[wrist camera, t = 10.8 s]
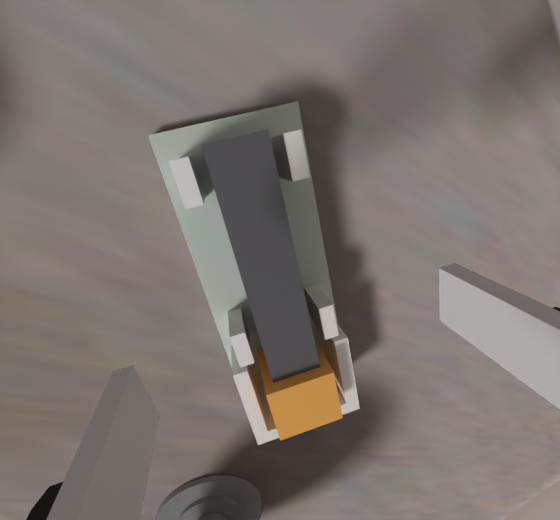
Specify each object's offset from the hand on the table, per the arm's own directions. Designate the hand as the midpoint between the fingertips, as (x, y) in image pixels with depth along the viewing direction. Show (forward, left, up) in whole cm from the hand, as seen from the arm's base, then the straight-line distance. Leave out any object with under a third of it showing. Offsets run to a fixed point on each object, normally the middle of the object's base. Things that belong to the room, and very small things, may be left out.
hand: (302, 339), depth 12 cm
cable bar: (+3, 0, -13) cm, 14 cm away
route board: (+3, 0, -14) cm, 15 cm away
